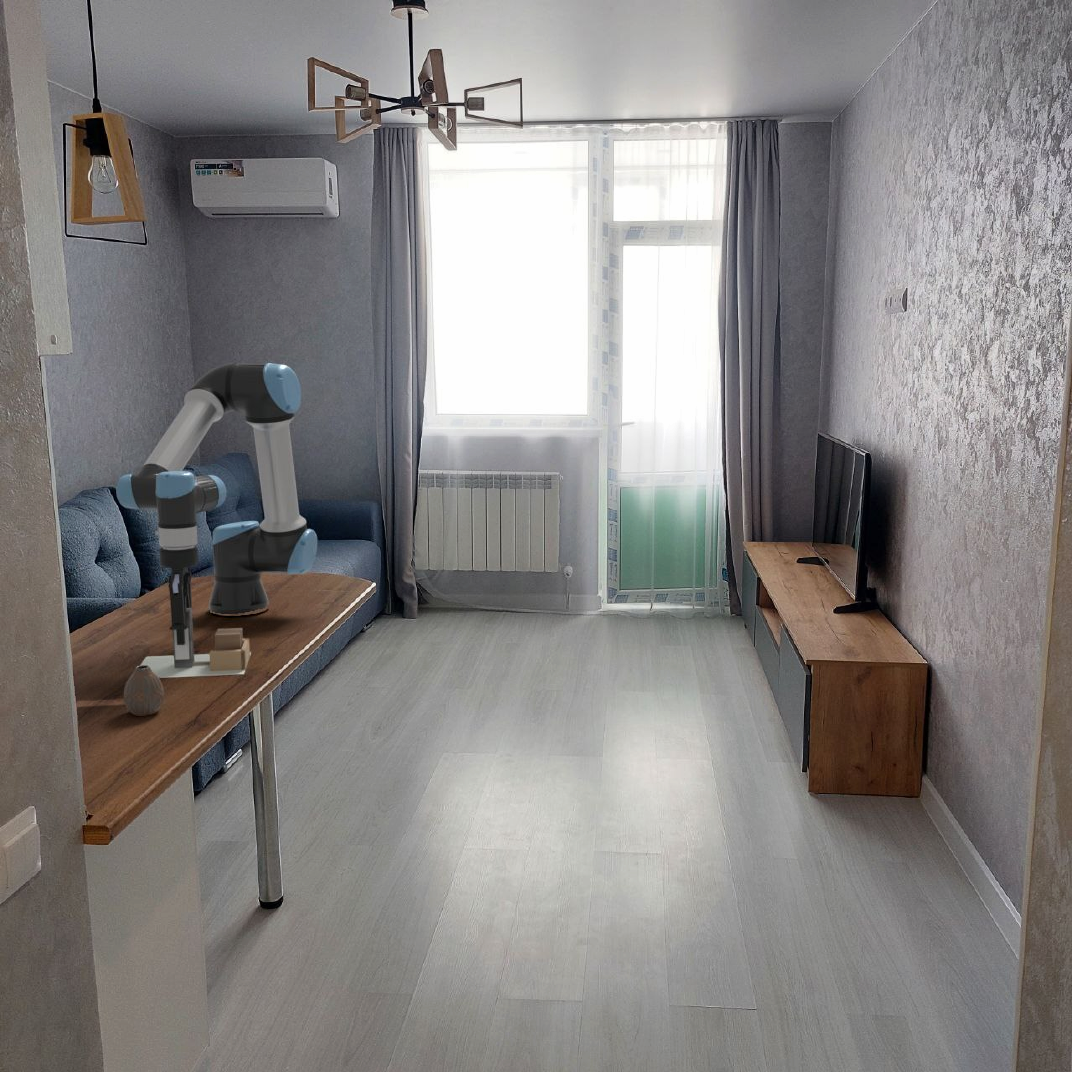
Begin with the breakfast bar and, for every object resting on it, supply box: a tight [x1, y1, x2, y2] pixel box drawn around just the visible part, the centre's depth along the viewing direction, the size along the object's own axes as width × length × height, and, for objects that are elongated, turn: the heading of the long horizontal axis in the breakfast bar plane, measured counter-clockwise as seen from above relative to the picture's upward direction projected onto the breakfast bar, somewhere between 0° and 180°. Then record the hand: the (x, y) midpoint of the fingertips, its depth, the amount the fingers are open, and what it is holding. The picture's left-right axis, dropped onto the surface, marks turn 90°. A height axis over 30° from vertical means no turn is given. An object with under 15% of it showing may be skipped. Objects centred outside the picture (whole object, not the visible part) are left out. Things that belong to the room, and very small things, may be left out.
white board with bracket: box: [139, 637, 252, 679], centre depth 211 cm, size 16×22×5 cm
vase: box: [123, 664, 165, 717], centre depth 184 cm, size 7×7×9 cm
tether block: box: [172, 607, 244, 668], centre depth 210 cm, size 5×14×12 cm, turn 101°
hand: (184, 655), depth 210 cm, fingers closed on tether block, 3 cm apart
